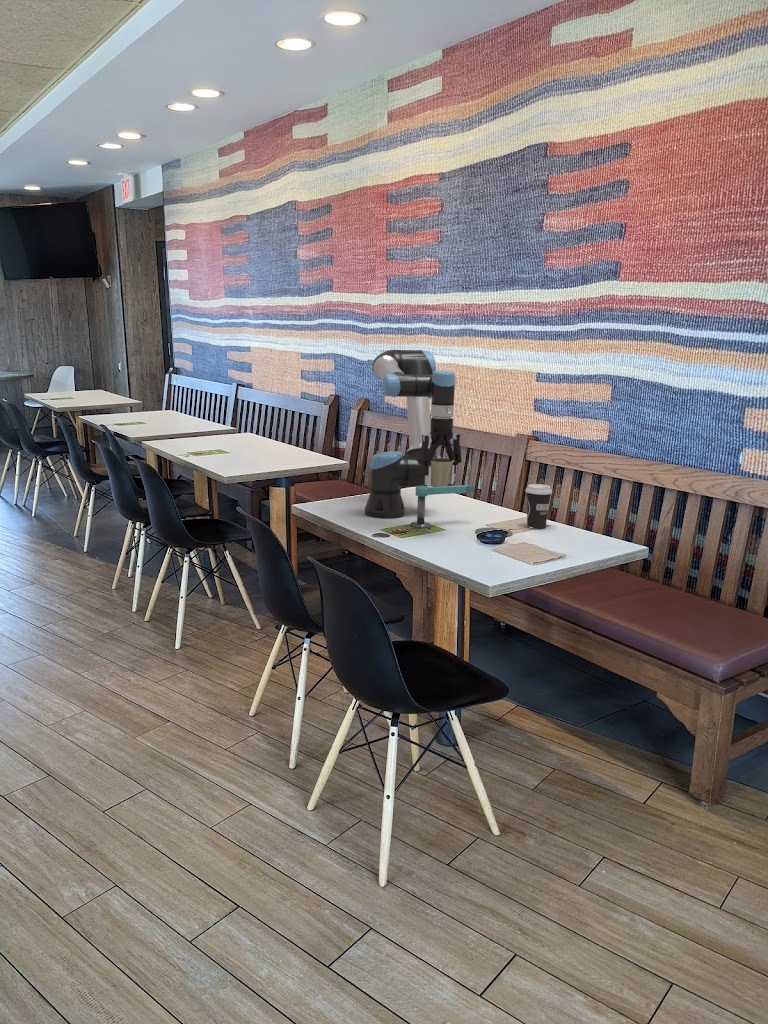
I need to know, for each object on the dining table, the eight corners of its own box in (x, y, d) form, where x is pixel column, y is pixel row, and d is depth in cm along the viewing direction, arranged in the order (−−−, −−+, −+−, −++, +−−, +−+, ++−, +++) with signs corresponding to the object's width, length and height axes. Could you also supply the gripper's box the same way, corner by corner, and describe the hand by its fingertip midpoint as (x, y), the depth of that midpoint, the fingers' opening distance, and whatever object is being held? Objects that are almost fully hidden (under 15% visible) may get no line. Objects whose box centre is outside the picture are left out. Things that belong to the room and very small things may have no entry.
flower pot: (450, 482, 287) (451, 457, 285) (454, 487, 278) (456, 462, 276) (423, 482, 286) (424, 457, 284) (426, 487, 277) (427, 461, 275)
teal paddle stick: (418, 496, 290) (418, 488, 289) (413, 494, 294) (413, 485, 293) (474, 493, 298) (475, 485, 297) (469, 491, 302) (469, 483, 301)
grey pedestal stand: (407, 524, 296) (408, 494, 294) (424, 523, 300) (425, 493, 297) (416, 529, 290) (417, 498, 288) (433, 527, 294) (435, 497, 291)
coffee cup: (528, 530, 293) (531, 488, 290) (519, 524, 302) (521, 483, 299) (553, 529, 295) (557, 488, 292) (543, 523, 304) (546, 483, 301)
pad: (467, 530, 291) (467, 529, 291) (498, 527, 297) (498, 526, 296) (488, 539, 279) (488, 538, 279) (520, 535, 285) (520, 534, 285)
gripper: (420, 419, 269) (417, 488, 274) (474, 417, 278) (471, 484, 283) (409, 417, 275) (406, 484, 280) (462, 415, 285) (459, 480, 290)
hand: (439, 484), depth 282 cm, fingers closed on flower pot, 8 cm apart
